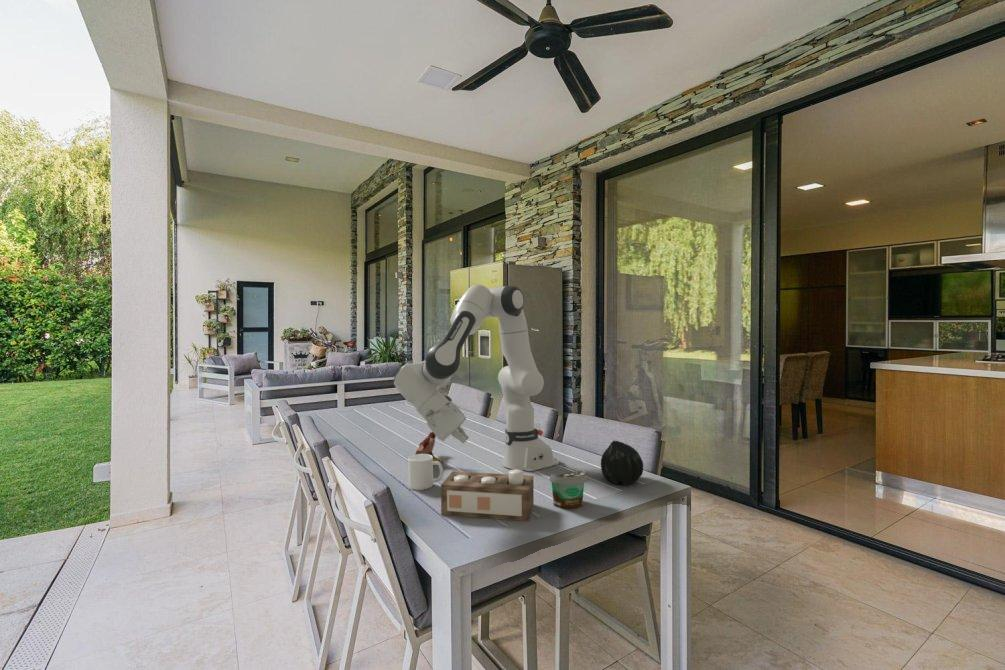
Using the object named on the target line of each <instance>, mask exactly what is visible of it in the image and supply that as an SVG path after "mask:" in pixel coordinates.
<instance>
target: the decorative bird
mask: <svg viewBox="0 0 1005 670" xmlns="http://www.w3.org/2000/svg"><path fill="white" fill-rule="evenodd" d="M436 437H437V436H436V435H435V434H434V433H433V431H431V432H429V434H428V435H426V437H425V438H424V439H423V440H422V441H421V442H419V445H418V448H417V450H416V451H415V454H414V455H416V454H429V455H432V456H433V461H438V462H440V463H441V464H442V463H443V461H444V459H439V458H438V457H436V456H435V455H434V453H433V450H434V446H435V444H436V443H435V442H436Z"/></svg>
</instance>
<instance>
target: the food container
mask: <svg viewBox="0 0 1005 670" xmlns="http://www.w3.org/2000/svg"><path fill="white" fill-rule="evenodd" d="M548 481H550V482H551V490H552V500H553V506H554V507H555V508H558V509H563V510H576V509H579V508H581V507H582V506H583V500H584V490H585V489H584V488H585V482H586V481H587V474H586V471H585V470H584V469H583V468H582V469H581V471H578V472H565V473H563V474H560V475H555V474H552V473H551V474H550V477H549V480H548Z"/></svg>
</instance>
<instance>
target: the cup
mask: <svg viewBox="0 0 1005 670" xmlns="http://www.w3.org/2000/svg"><path fill="white" fill-rule="evenodd" d="M415 454H416V453H415ZM415 454H413V455H410V456H408V460H407V461H408V487H409V489H411V490H413V489H415V490H414V491H423V490H422V489H426V490H429V489H431V488H432V487H433V486H434V483H438V482H441V480H442V479H443V476H444V468H443V465H442V463H440V462H441V461H440V462H439V460H436V461H433V456H432V455H429V454H416V455H415ZM434 466H438V468H439V476H438V477H434ZM430 487H431V488H430ZM428 488H429V489H428Z"/></svg>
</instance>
